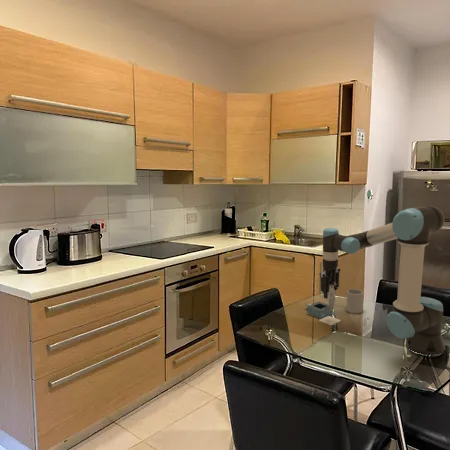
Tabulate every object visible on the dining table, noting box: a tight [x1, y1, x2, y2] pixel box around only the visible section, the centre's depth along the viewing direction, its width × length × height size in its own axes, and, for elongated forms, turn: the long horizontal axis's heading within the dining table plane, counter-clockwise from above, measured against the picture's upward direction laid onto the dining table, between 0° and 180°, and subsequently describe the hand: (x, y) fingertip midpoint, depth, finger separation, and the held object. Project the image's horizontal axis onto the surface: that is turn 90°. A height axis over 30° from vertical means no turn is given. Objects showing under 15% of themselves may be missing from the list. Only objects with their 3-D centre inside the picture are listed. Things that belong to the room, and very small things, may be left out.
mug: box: [345, 288, 364, 315], centre depth 223 cm, size 12×8×11 cm
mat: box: [318, 315, 342, 326], centre depth 211 cm, size 8×8×1 cm
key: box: [326, 280, 337, 311], centre depth 209 cm, size 4×6×15 cm, turn 37°
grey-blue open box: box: [304, 301, 334, 320], centre depth 222 cm, size 14×10×4 cm, turn 37°
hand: (329, 302), depth 209 cm, fingers closed on key, 4 cm apart
